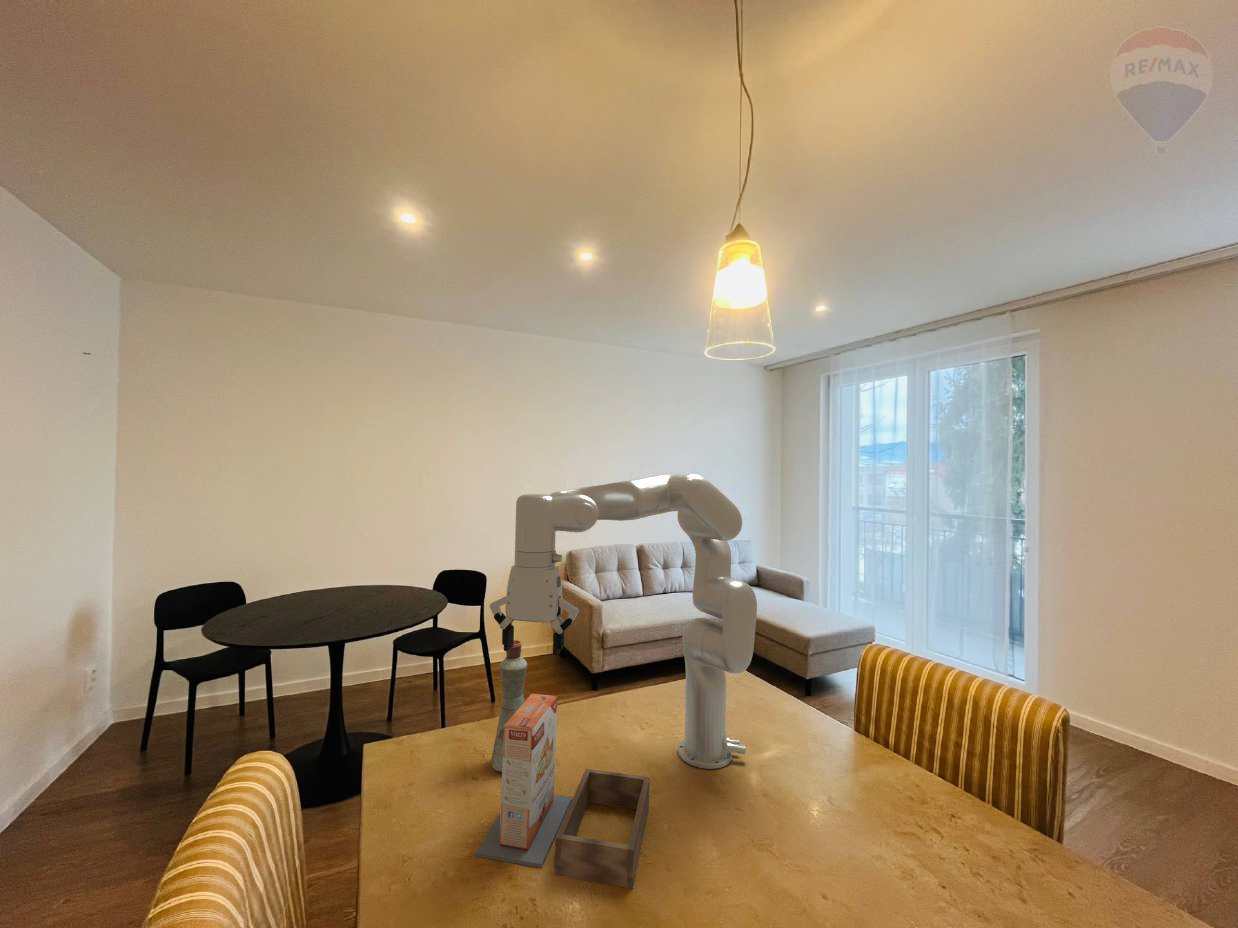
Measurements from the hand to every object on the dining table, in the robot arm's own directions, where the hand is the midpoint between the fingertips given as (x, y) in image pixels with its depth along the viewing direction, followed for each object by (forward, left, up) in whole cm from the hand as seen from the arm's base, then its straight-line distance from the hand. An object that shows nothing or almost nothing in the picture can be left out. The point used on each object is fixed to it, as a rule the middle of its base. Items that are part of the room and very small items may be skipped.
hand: (532, 650), depth 94 cm
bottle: (+11, -18, -32) cm, 39 cm away
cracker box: (0, 0, -32) cm, 32 cm away
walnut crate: (-15, 0, -32) cm, 36 cm away
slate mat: (0, 0, -32) cm, 32 cm away
